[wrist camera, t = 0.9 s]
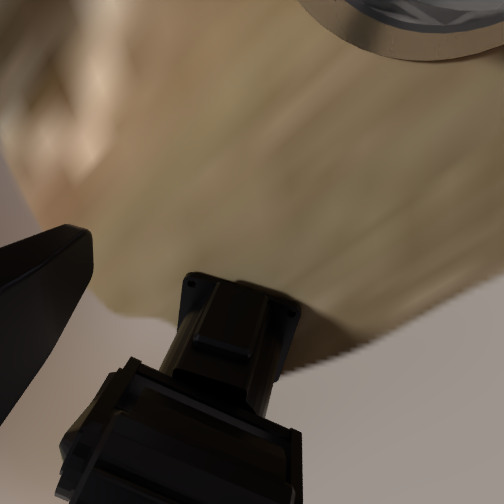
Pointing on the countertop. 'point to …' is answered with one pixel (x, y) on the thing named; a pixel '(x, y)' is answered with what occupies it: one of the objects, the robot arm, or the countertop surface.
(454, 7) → the plunger
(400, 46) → the press pot
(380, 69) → the countertop surface
